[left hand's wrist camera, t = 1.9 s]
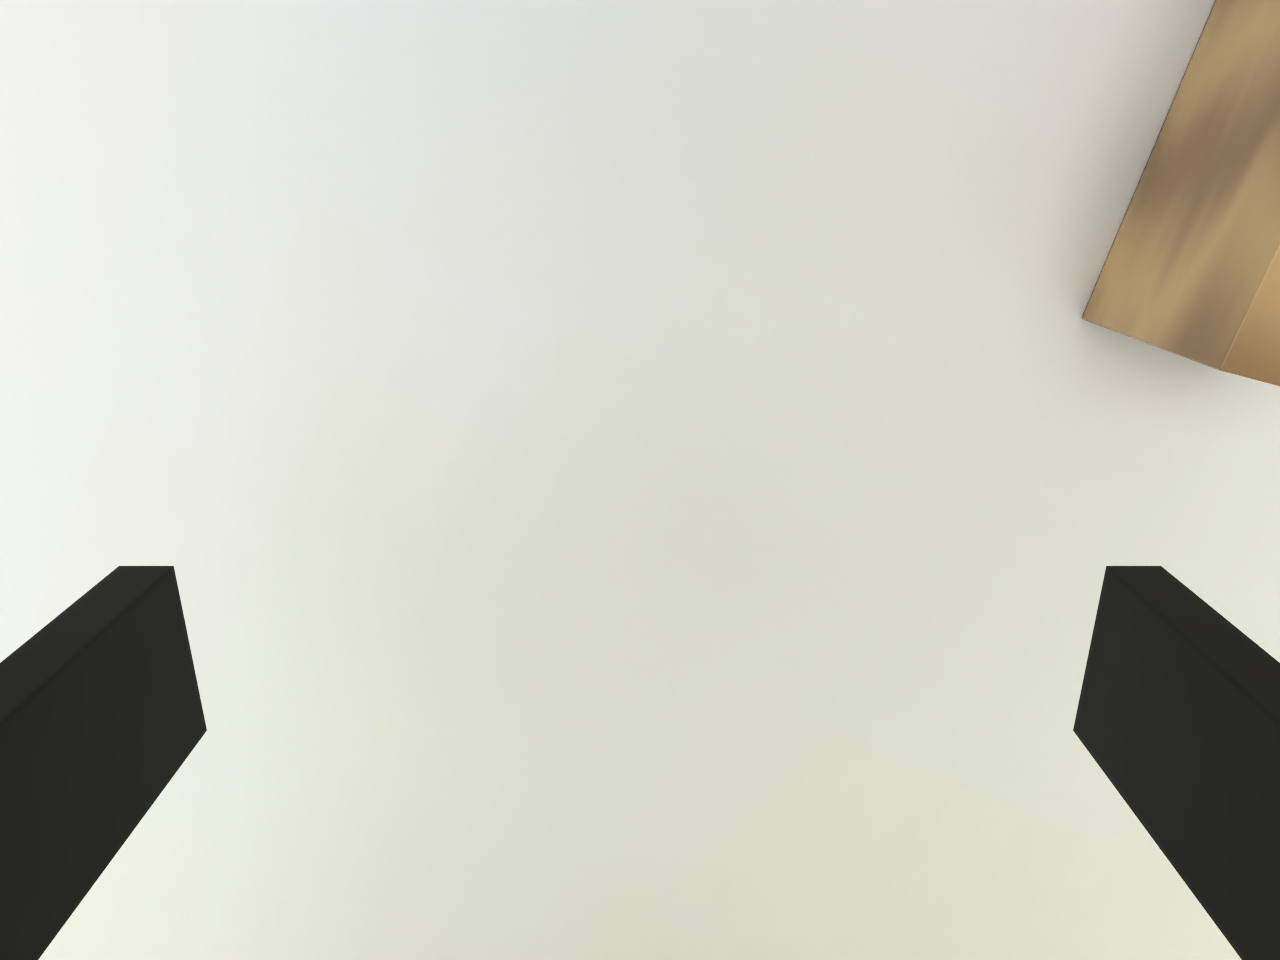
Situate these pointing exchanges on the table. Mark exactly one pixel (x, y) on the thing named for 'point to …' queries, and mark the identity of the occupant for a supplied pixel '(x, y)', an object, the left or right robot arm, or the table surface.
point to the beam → (1209, 209)
